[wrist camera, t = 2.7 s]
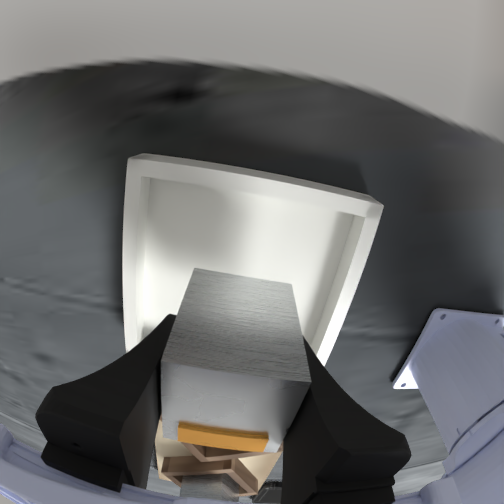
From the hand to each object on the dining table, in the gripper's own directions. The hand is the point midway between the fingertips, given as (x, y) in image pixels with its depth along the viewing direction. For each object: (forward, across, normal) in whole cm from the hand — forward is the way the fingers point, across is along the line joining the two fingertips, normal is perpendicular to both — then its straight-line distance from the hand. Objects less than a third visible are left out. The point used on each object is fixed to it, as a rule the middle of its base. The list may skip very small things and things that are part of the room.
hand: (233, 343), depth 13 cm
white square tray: (+6, 0, 0) cm, 6 cm away
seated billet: (+5, -1, +24) cm, 24 cm away
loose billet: (+2, 0, 0) cm, 2 cm away
